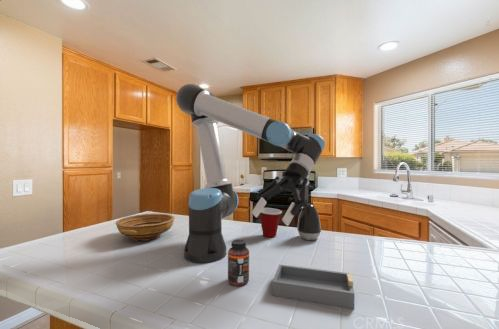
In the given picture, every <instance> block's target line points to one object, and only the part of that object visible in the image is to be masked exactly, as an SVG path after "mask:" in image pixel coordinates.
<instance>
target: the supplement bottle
mask: <svg viewBox="0 0 499 329" xmlns="http://www.w3.org/2000/svg"><path fill="white" fill-rule="evenodd" d="M249 278H250V249H249V248H247V242H246V240H244V239H241V238H240V239H239V238H237V239H234V240H233V239H232V240H231V247H230V248H229V249H228V251H227V281H228V283H229V284H230V285H232V286H240V287H241V286H245V285H247V283H249V281H250V280H249Z"/></svg>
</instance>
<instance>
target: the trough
mask: <svg viewBox="0 0 499 329" xmlns="http://www.w3.org/2000/svg"><path fill="white" fill-rule="evenodd" d="M272 296H275V297H280V298H286V299H293V300H298V301H305V302H310V303H317V304H321V305H329V306H335V307H343V308H348V309H353V310H354V309H355V291H354V279H353V276H352V274H350V273H349V272H343V271H341V272H340V271H334V270H327V269H326V270H325V269H319V268H310V267H302V266H293V265H284V264H279V265H278V267H277V269H276V272H275V274H274V277H273V280H272Z"/></svg>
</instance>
